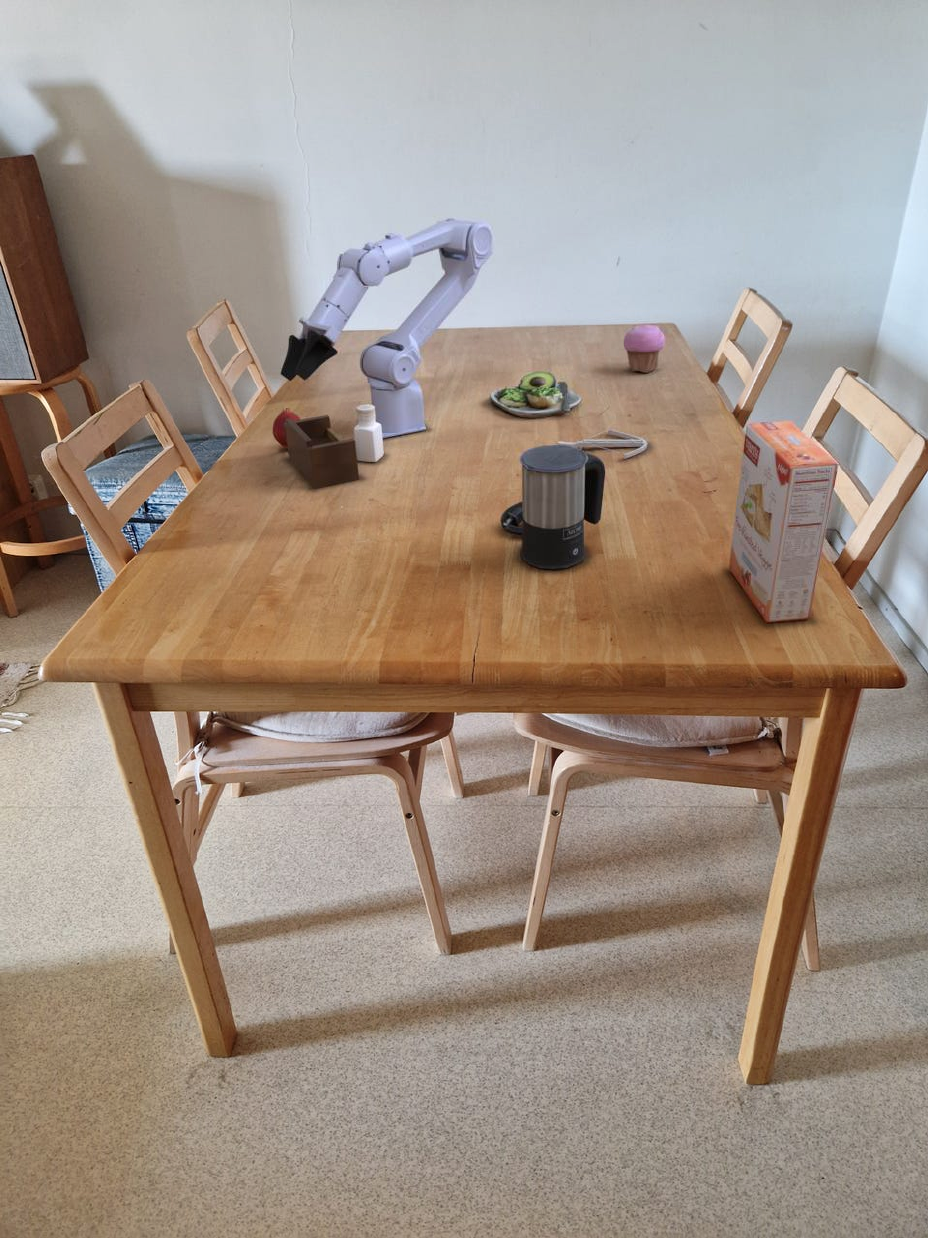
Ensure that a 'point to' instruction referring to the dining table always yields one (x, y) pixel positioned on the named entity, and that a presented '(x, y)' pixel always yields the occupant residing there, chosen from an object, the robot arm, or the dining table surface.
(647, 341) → the cupcake
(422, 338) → the robot arm
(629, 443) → the crossbow
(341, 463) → the box
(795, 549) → the cracker box
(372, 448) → the pepper shaker
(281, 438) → the onion
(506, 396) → the salad plate
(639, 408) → the dining table surface
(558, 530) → the milk frother
